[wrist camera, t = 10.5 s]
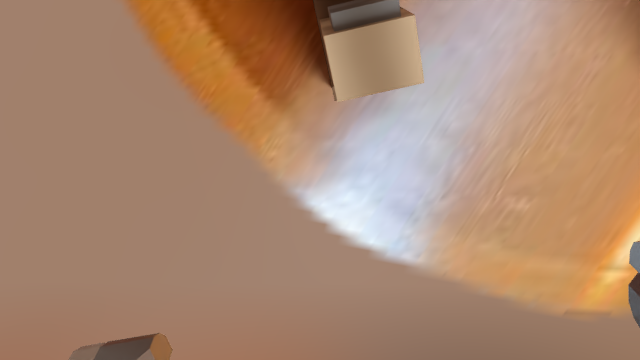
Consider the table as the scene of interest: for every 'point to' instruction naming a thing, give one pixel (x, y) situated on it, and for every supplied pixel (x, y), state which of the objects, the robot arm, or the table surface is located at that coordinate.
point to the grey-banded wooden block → (371, 47)
